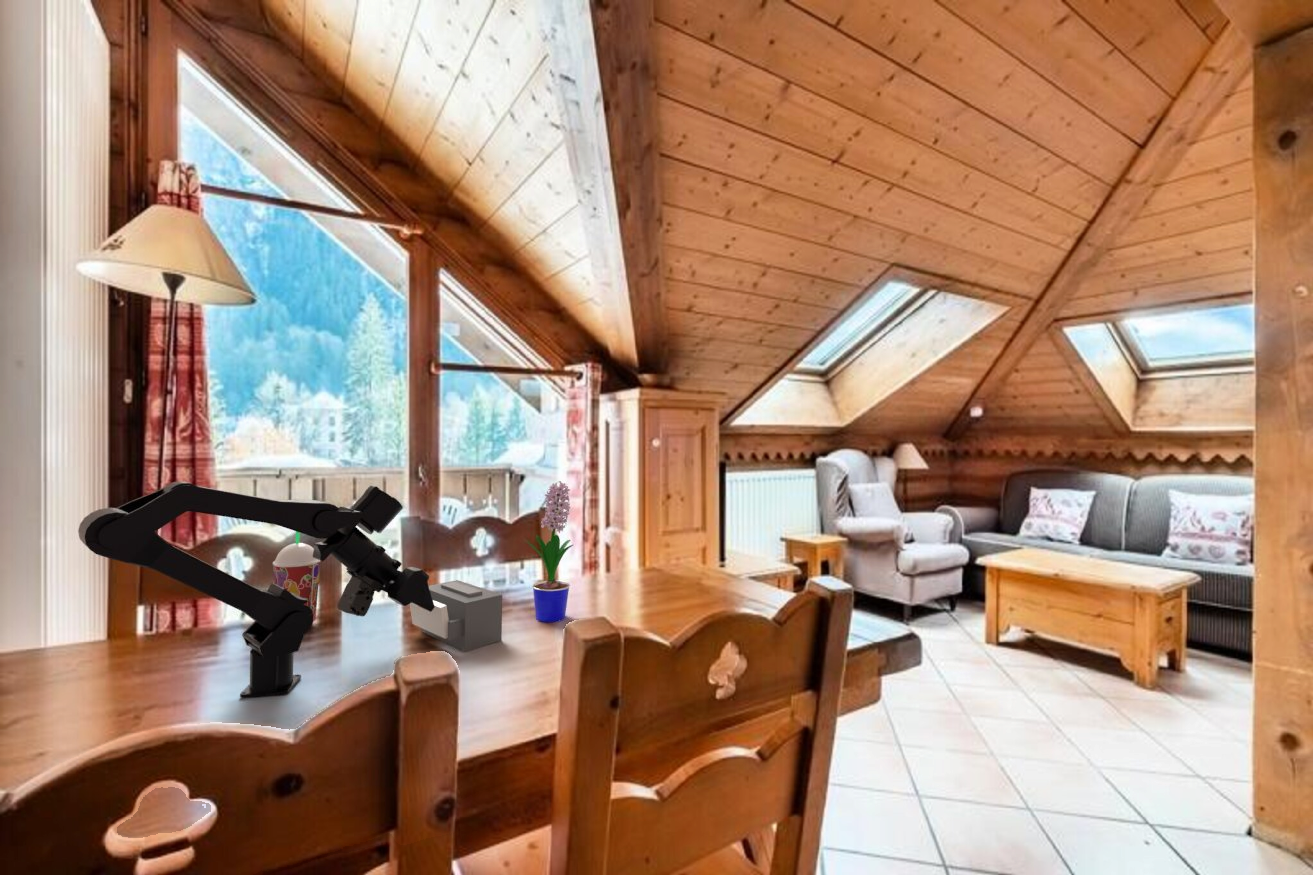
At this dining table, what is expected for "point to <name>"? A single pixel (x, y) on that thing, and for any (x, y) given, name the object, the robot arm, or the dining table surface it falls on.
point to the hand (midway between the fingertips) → (419, 604)
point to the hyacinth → (552, 558)
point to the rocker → (431, 618)
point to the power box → (469, 614)
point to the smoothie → (298, 572)
